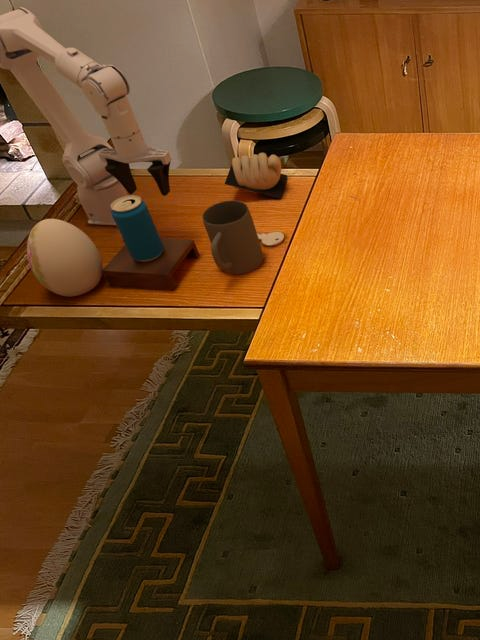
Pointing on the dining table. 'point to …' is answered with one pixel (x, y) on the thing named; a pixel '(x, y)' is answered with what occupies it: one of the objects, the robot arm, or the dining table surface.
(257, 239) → the mug
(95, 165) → the robot arm
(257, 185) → the decorative object
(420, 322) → the dining table surface
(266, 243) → the key
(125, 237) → the beverage can
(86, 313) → the dining table surface
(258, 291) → the dining table surface
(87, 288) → the decorative egg
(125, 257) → the shelf
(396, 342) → the dining table surface
